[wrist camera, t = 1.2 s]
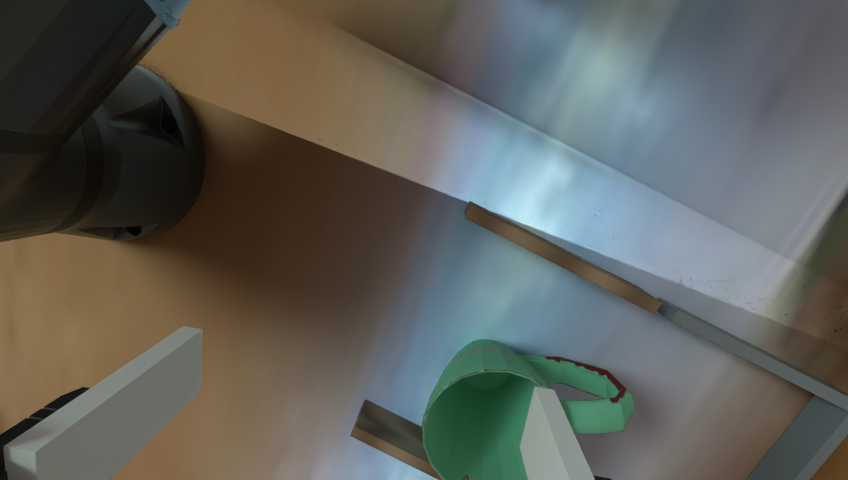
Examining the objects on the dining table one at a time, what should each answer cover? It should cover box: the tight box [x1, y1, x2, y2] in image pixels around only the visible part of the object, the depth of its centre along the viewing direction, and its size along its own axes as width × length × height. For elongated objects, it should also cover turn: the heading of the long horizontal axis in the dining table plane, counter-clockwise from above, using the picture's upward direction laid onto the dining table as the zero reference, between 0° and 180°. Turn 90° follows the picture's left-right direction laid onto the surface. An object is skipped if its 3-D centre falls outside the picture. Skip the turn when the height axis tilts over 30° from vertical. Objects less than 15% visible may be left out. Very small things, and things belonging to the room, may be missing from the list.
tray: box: [657, 298, 848, 480], centre depth 35 cm, size 17×22×3 cm
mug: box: [422, 340, 636, 480], centre depth 31 cm, size 15×10×10 cm
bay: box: [350, 201, 662, 480], centre depth 34 cm, size 16×22×4 cm
